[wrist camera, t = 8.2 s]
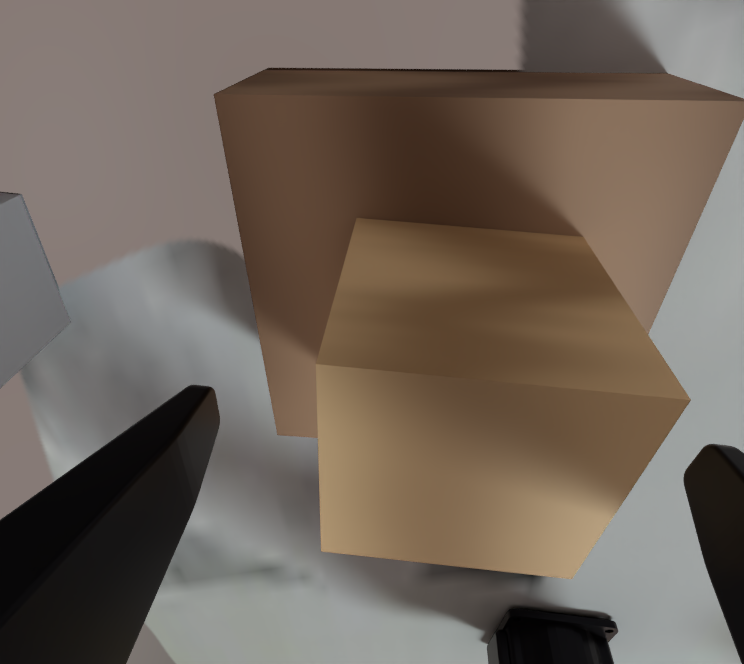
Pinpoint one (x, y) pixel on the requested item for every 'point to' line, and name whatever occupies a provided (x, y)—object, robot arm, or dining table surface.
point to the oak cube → (482, 399)
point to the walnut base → (457, 180)
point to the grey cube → (24, 290)
